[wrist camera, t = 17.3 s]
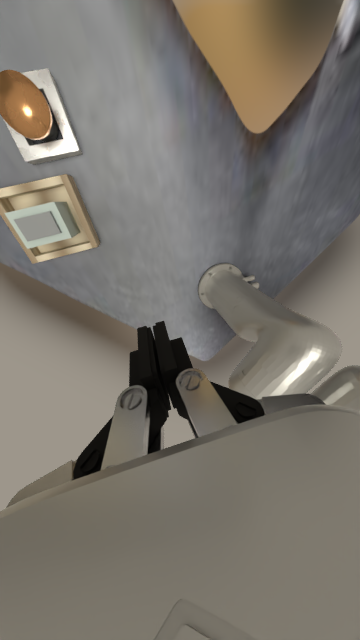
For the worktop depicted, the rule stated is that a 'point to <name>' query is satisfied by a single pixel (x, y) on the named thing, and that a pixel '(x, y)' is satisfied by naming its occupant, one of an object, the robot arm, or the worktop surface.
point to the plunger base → (70, 142)
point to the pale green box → (44, 223)
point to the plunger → (26, 107)
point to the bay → (45, 193)
